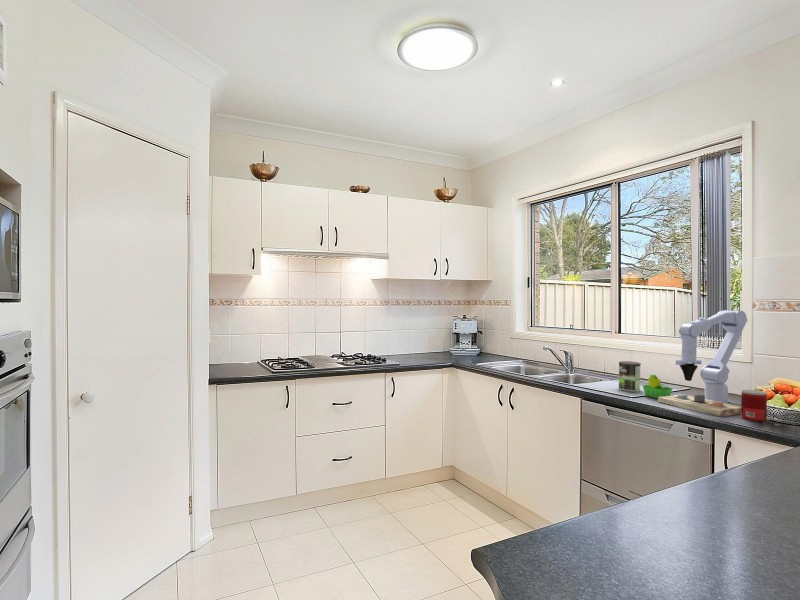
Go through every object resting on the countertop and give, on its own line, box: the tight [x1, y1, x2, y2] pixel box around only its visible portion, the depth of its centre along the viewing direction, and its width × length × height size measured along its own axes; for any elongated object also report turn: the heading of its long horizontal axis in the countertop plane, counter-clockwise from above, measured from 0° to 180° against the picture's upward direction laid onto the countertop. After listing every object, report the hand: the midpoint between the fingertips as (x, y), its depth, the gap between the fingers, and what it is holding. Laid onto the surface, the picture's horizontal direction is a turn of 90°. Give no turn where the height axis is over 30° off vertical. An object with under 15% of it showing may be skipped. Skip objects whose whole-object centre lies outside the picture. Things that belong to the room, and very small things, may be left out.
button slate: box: [676, 393, 689, 400], centre depth 214 cm, size 4×4×4 cm
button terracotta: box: [712, 401, 724, 408], centre depth 200 cm, size 4×4×4 cm
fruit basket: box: [642, 373, 674, 399], centre depth 227 cm, size 11×9×11 cm
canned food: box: [740, 389, 768, 423], centre depth 187 cm, size 8×8×11 cm
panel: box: [657, 394, 741, 417], centre depth 207 cm, size 16×28×2 cm, turn 23°
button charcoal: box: [693, 393, 705, 404], centre depth 207 cm, size 4×4×4 cm
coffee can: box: [618, 360, 642, 392], centre depth 247 cm, size 10×10×14 cm
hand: (688, 380), depth 214 cm, fingers closed
